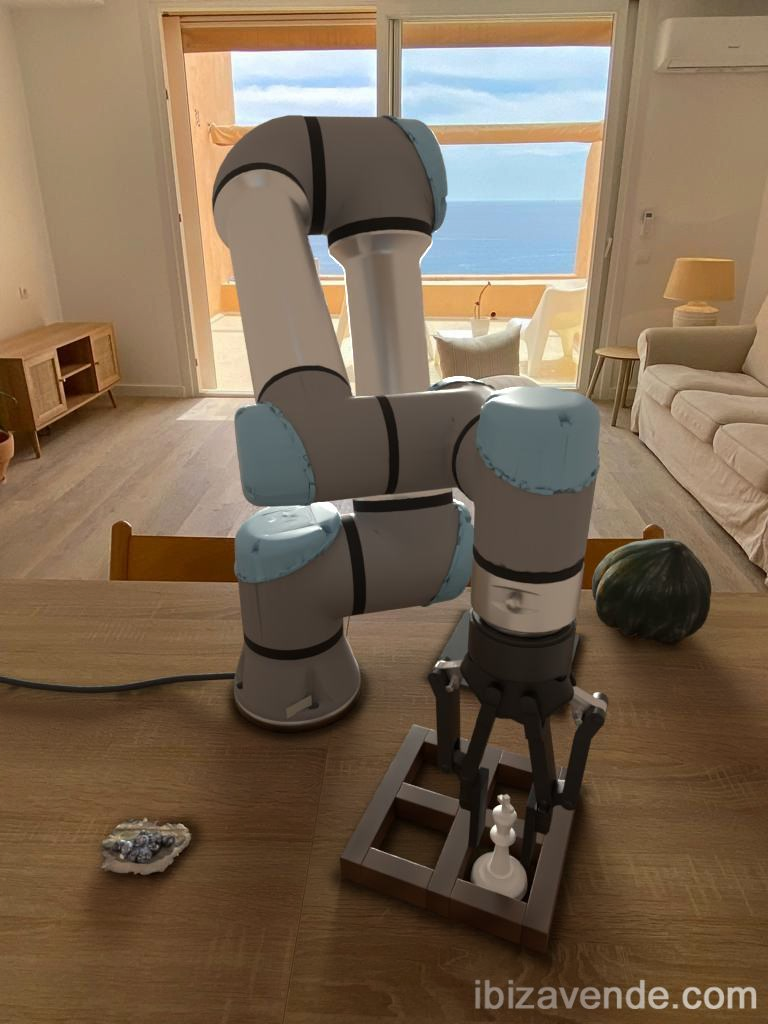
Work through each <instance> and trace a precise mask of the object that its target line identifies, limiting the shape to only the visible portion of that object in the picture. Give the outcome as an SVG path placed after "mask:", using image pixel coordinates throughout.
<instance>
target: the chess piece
mask: <svg viewBox="0 0 768 1024" xmlns="http://www.w3.org/2000/svg"><path fill="white" fill-rule="evenodd" d="M496 799H497V802H498V803H499V804H500V805H497V806H495V807H494V808H493V810H492V811H493V813H492V816H493V819H494V822H495V824H496V825H495V826H494V827H493V828H492V829H491V831H490V837H491V839H492V841H493V842H494V843H495V844H496V845H495V849H494V850H493V851H489V852H486V853H484V854H482V855H480V856H479V857H478V858H477V859H476V860H475V861H474V863H473V865H472V869H471V871H470V883H472V884H474V885H477V886H480V887H483V888H486V889H488V890H491V891H494V892H497V893H500V894H502V895H505V896H508V897H511V898H514V899H516V900H519V901H522V900H523V898H524V897H525V895H526V894H527V892H528V885H529V884H528V876H527V875H528V874H527V872H526V869H525V868H524V865H522V864H520V861H519V860H518V859H517V858H516V857H515V856H513V855H511V854H509V849H508V846H510V845H512V844H513V843H514V842H515V839H516V836H515V832H514V830H513V829H512V826H513V825H514V824H515V822H516V820H517V818H518V815H517V812H516V811H515V808H514V806H513V805H512V804H511V797H510V796H509V794H508V793H506V794H502V793H501V794H499V795H497V798H496Z"/></svg>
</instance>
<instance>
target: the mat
mask: <svg viewBox="0 0 768 1024" xmlns="http://www.w3.org/2000/svg"><path fill="white" fill-rule="evenodd" d="M469 613H470V610H465V611H464V614H463V615H462V617H461V619H460V621H459V622H458V624H457V626H456V627H455V629H454V631H453V633H452V635H451V636H450V638H449V640H448V642H447V643H446V645H445V647H444V649H443V651H441V652H442V653H441V654H440V656H442V655H444V656H447V657H449V658H450V659H451V661H456V660H464V657H465V655H466V653H467V652H468V631H469ZM580 636H581V635H580V634H576V633H575V641H574V649H573V656H572V664H571V667H572V666H573V662H574V659H575V656H576V653H577V648H578V644H579V641H580ZM460 688H465V689H468V690H471V688H470V687H469V685H468V684H467V682H466V681H465V679H464V678H463V680H462V682H461V684H460ZM557 712H560V709H559V710H558V711H557Z"/></svg>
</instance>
